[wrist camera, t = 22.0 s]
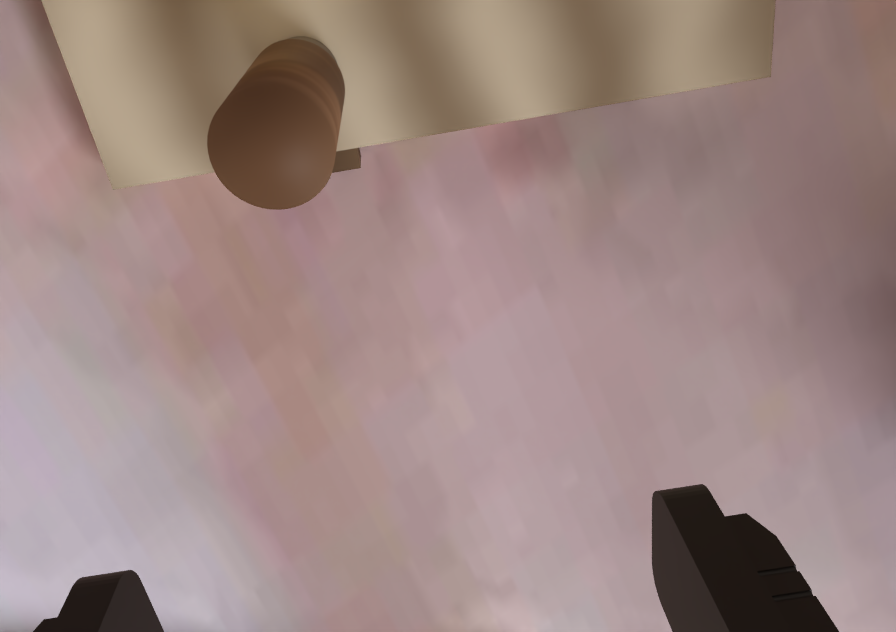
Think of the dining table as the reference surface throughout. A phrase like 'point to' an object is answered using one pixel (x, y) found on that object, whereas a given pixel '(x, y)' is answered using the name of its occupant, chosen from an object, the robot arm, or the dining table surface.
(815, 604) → the robot arm
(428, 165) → the dining table surface
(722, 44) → the board
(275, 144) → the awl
